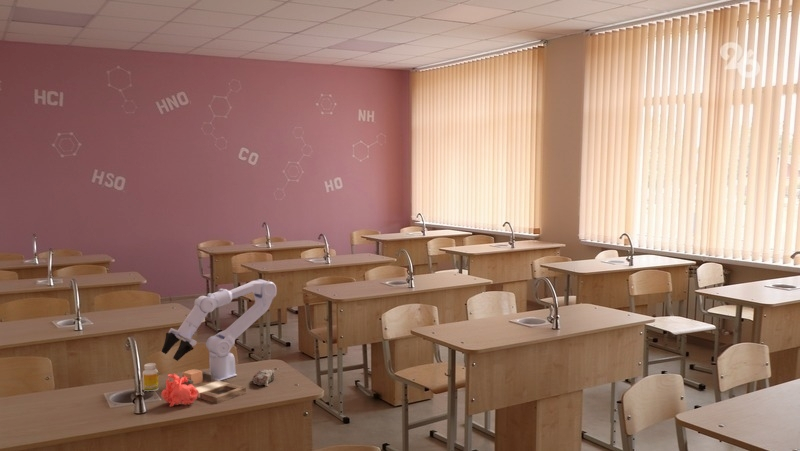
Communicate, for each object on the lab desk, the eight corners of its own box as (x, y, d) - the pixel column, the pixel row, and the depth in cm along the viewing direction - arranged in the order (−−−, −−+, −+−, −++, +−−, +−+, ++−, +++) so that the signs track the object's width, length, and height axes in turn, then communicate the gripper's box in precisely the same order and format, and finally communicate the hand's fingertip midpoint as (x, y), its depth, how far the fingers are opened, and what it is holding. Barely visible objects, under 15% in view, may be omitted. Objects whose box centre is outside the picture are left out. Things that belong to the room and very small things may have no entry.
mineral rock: (260, 375, 266) (259, 364, 265) (279, 376, 264) (279, 365, 264) (245, 388, 251) (245, 376, 251) (266, 388, 250) (266, 377, 249)
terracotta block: (194, 379, 255) (193, 368, 255) (202, 381, 252) (202, 370, 252) (182, 382, 251) (182, 372, 251) (191, 385, 248) (191, 374, 248)
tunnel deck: (196, 379, 261) (195, 368, 260) (246, 393, 244) (245, 380, 244) (167, 389, 250) (166, 377, 250) (217, 403, 234) (216, 390, 234)
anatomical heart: (199, 409, 233) (198, 379, 229) (162, 414, 229) (161, 384, 225) (197, 395, 241) (196, 366, 237) (161, 399, 237) (160, 370, 233)
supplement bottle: (141, 389, 250) (140, 364, 249) (155, 386, 253) (154, 361, 252) (146, 393, 246) (145, 367, 245) (161, 390, 249) (160, 364, 248)
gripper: (172, 314, 257) (151, 345, 252) (195, 325, 248) (173, 358, 244) (185, 322, 262) (163, 353, 257) (207, 334, 253) (186, 366, 249)
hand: (169, 356), depth 251 cm, fingers open, 7 cm apart
